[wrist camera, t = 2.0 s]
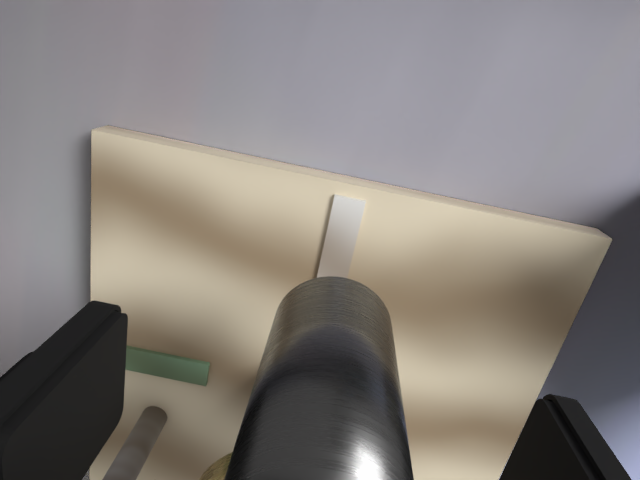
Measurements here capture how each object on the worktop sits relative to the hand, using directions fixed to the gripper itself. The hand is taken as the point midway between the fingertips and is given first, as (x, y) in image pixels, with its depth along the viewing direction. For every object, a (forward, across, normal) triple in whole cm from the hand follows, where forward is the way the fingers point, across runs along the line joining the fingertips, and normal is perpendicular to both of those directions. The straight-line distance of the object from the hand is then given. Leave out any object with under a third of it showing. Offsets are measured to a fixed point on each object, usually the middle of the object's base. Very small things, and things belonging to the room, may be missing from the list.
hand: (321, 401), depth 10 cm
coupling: (+2, 0, +4) cm, 5 cm away
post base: (+10, 0, +7) cm, 12 cm away
